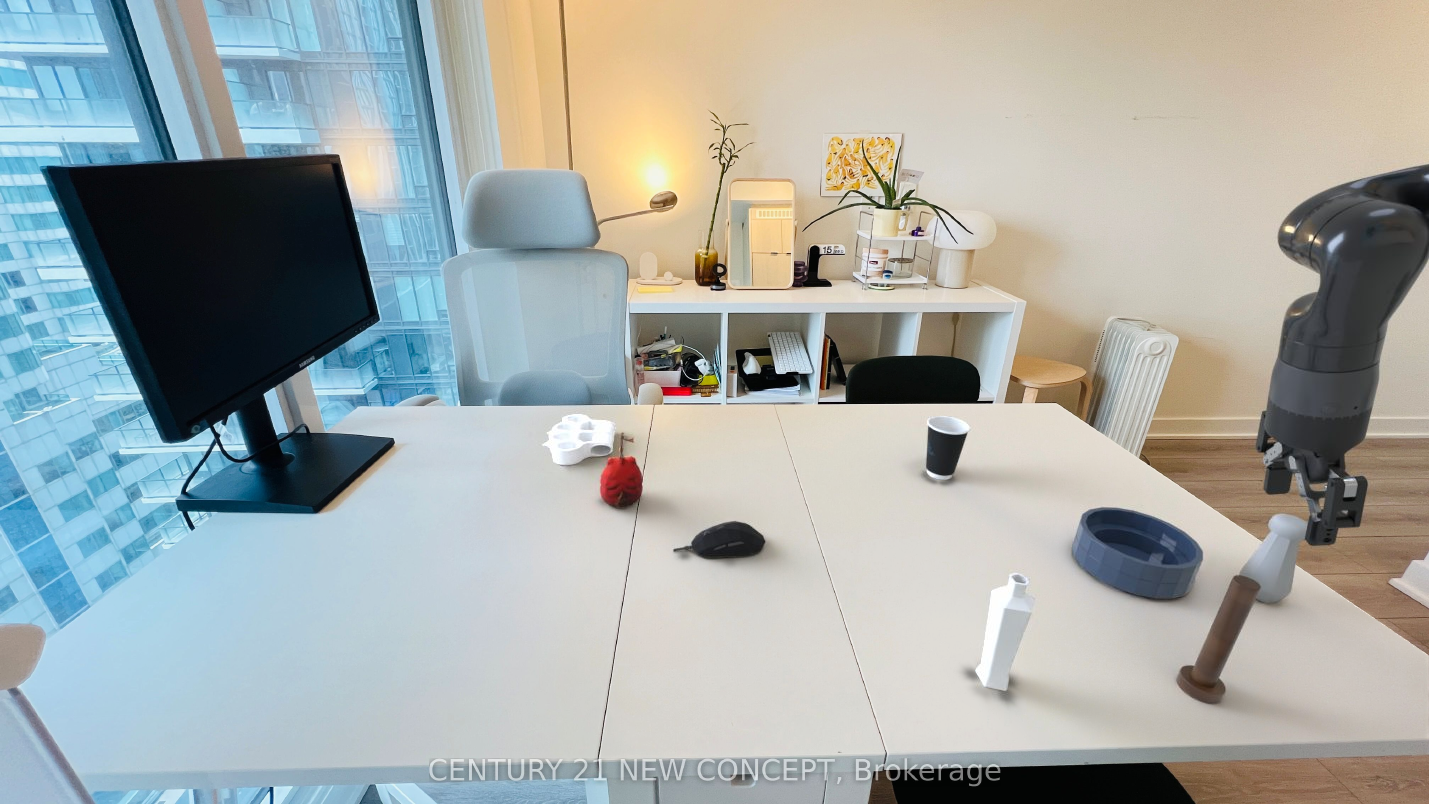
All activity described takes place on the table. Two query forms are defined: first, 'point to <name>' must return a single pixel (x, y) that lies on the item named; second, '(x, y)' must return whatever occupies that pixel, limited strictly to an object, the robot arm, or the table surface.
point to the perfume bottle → (1004, 631)
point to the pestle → (1219, 642)
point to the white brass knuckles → (580, 439)
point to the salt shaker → (1276, 558)
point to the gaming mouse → (727, 541)
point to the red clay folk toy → (621, 480)
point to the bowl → (1137, 552)
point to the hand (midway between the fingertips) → (1296, 516)
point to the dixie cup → (944, 445)
